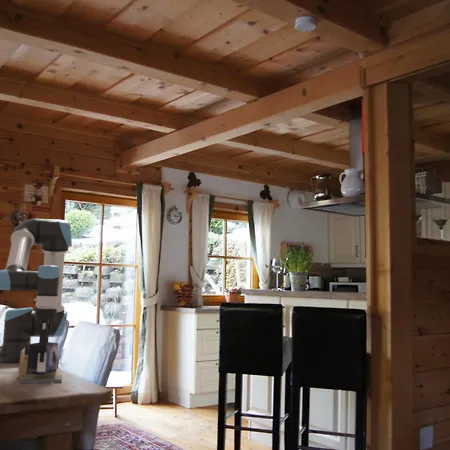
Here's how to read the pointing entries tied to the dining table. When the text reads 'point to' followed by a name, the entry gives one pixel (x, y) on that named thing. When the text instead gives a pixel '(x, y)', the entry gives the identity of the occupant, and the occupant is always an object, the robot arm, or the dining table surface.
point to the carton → (23, 365)
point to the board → (40, 378)
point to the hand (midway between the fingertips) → (42, 369)
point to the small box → (50, 358)
